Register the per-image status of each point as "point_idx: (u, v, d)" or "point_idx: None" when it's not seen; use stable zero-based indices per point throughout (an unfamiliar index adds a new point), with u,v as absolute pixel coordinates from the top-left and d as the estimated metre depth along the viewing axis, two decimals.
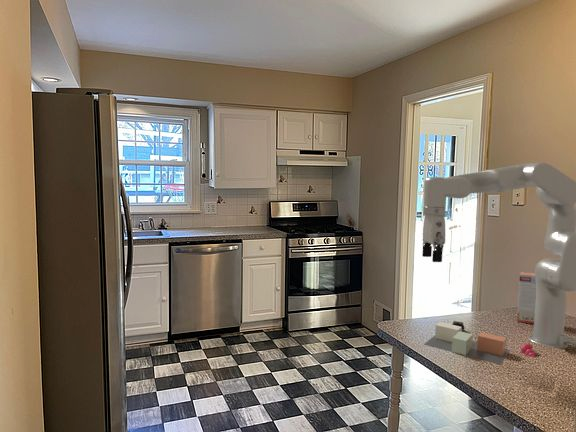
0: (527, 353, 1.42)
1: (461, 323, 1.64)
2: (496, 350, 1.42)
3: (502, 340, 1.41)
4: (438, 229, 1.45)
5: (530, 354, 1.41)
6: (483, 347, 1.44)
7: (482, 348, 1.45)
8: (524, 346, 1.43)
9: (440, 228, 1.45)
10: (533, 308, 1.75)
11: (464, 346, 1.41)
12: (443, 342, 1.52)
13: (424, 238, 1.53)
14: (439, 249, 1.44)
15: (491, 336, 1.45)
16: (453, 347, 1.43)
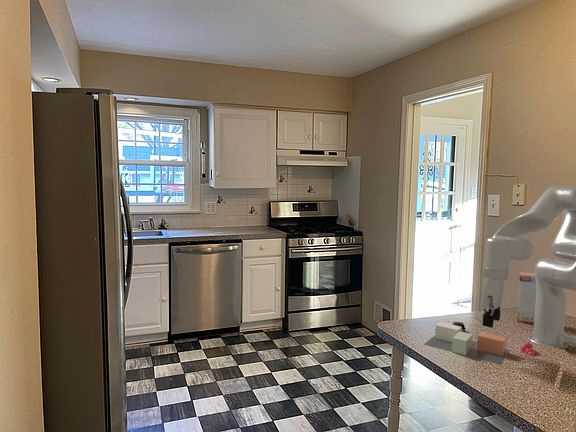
0: (527, 352, 1.43)
1: (462, 323, 1.63)
2: (496, 350, 1.42)
3: (502, 340, 1.41)
4: None
5: (529, 353, 1.42)
6: (483, 347, 1.44)
7: (482, 348, 1.45)
8: (524, 345, 1.44)
9: None
10: (533, 308, 1.75)
11: (464, 346, 1.41)
12: (443, 342, 1.52)
13: (498, 305, 1.40)
14: None
15: (491, 336, 1.45)
16: (453, 347, 1.43)
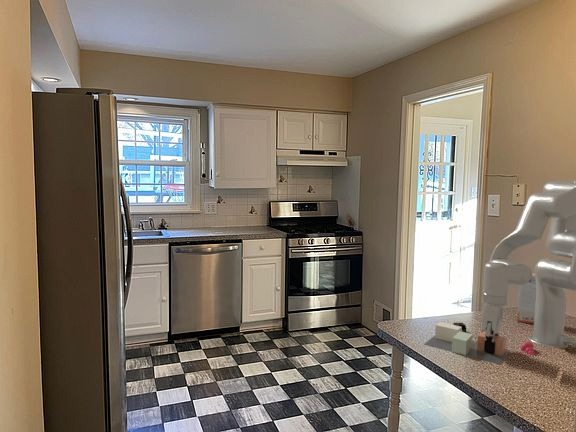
0: (527, 351, 1.44)
1: (462, 324, 1.63)
2: (496, 350, 1.42)
3: (502, 340, 1.41)
4: None
5: (529, 352, 1.43)
6: (483, 347, 1.44)
7: (482, 348, 1.45)
8: (524, 344, 1.45)
9: None
10: (533, 308, 1.75)
11: (464, 346, 1.41)
12: (443, 342, 1.52)
13: (497, 330, 1.41)
14: None
15: None
16: (453, 347, 1.43)
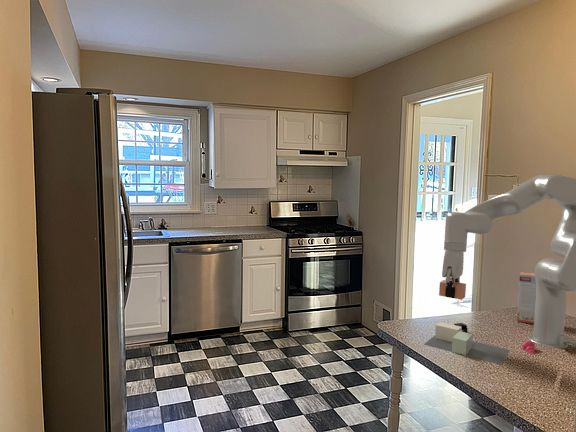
0: (527, 350, 1.45)
1: (463, 324, 1.63)
2: (456, 294, 1.50)
3: (462, 285, 1.49)
4: None
5: (530, 351, 1.44)
6: (444, 293, 1.52)
7: (444, 294, 1.52)
8: (525, 343, 1.46)
9: None
10: (533, 308, 1.75)
11: (464, 346, 1.41)
12: (443, 342, 1.52)
13: (457, 275, 1.49)
14: None
15: None
16: (453, 347, 1.43)
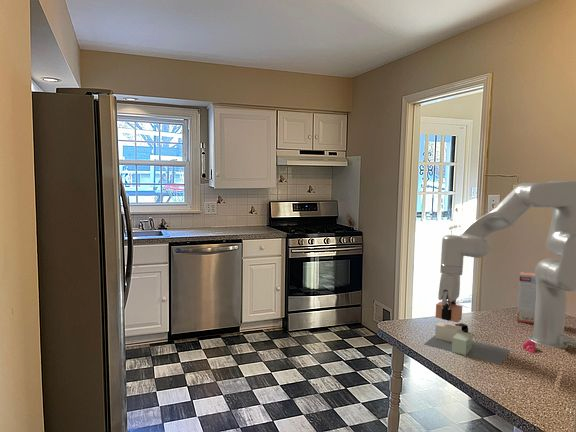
0: (527, 349, 1.45)
1: (464, 324, 1.62)
2: (452, 317, 1.51)
3: (458, 308, 1.51)
4: None
5: (530, 350, 1.45)
6: (441, 315, 1.54)
7: (440, 316, 1.54)
8: (525, 342, 1.47)
9: None
10: (533, 308, 1.75)
11: (464, 346, 1.41)
12: (443, 342, 1.52)
13: (453, 298, 1.50)
14: None
15: (448, 305, 1.54)
16: (453, 347, 1.43)
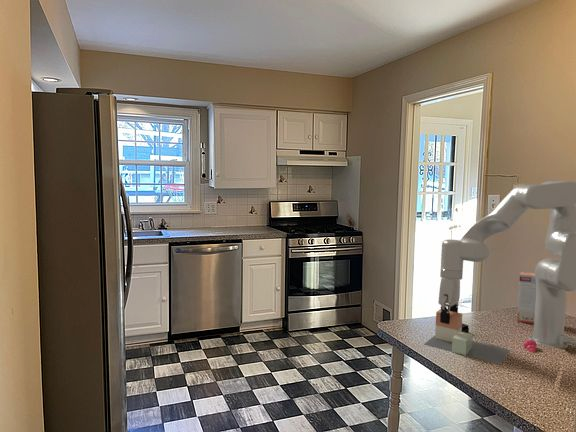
0: (528, 348, 1.46)
1: (464, 324, 1.62)
2: (452, 324, 1.51)
3: (458, 315, 1.51)
4: None
5: (530, 349, 1.45)
6: (441, 323, 1.54)
7: (440, 324, 1.54)
8: (526, 342, 1.48)
9: None
10: (533, 308, 1.75)
11: (464, 346, 1.41)
12: (443, 342, 1.52)
13: (453, 302, 1.51)
14: None
15: None
16: (453, 347, 1.43)
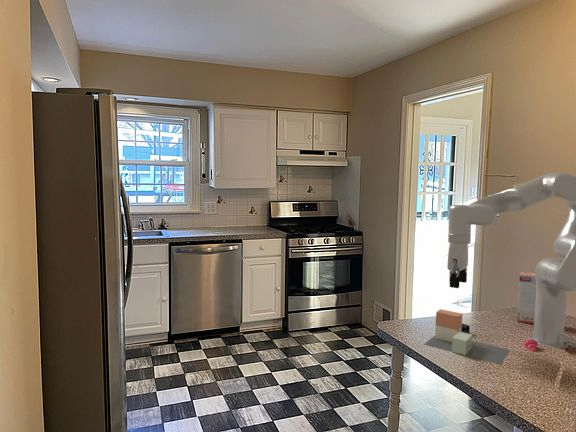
0: (528, 348, 1.47)
1: (465, 324, 1.62)
2: (452, 324, 1.51)
3: (458, 315, 1.51)
4: None
5: (530, 349, 1.46)
6: (441, 323, 1.54)
7: (440, 324, 1.54)
8: (527, 341, 1.48)
9: None
10: (533, 308, 1.75)
11: (464, 346, 1.41)
12: (443, 342, 1.52)
13: (462, 267, 1.51)
14: None
15: (448, 312, 1.54)
16: (453, 347, 1.43)
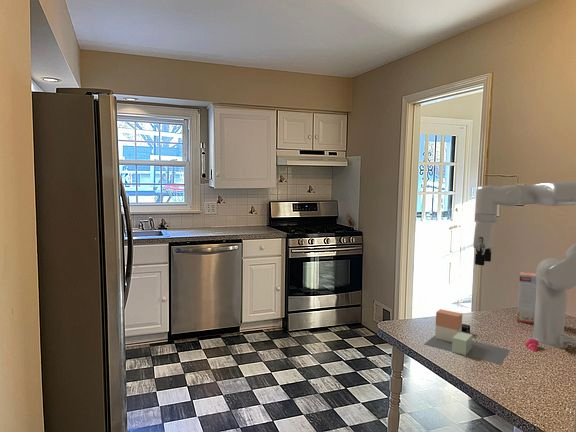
0: (529, 347, 1.47)
1: (466, 325, 1.62)
2: (452, 324, 1.51)
3: (458, 315, 1.51)
4: None
5: (531, 348, 1.46)
6: (441, 323, 1.54)
7: (440, 324, 1.54)
8: (528, 340, 1.49)
9: None
10: (533, 308, 1.75)
11: (464, 346, 1.41)
12: (443, 342, 1.52)
13: (488, 245, 1.56)
14: None
15: (448, 312, 1.54)
16: (453, 347, 1.43)
